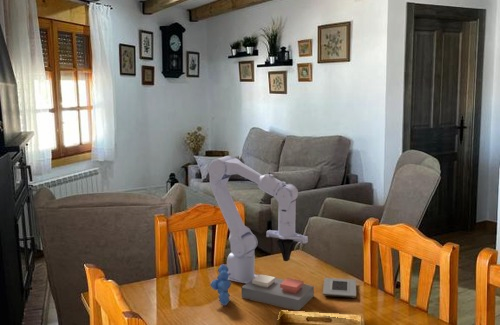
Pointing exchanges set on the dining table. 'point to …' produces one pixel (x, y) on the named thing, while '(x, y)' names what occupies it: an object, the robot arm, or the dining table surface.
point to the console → (278, 295)
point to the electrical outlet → (339, 287)
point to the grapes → (222, 284)
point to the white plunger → (263, 280)
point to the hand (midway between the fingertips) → (286, 260)
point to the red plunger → (291, 285)
